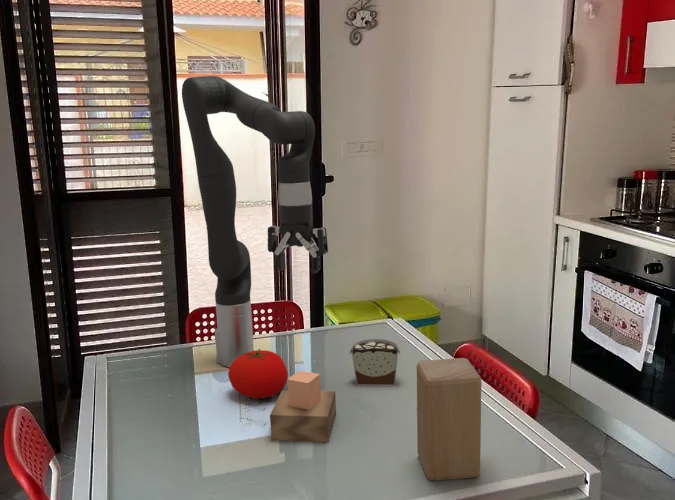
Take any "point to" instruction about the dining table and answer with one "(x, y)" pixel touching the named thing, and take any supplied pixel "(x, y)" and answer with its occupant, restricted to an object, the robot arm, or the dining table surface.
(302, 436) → the walnut block
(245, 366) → the tomato
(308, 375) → the terracotta block
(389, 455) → the dining table surface
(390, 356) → the food container
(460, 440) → the wooden block
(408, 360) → the dining table surface
